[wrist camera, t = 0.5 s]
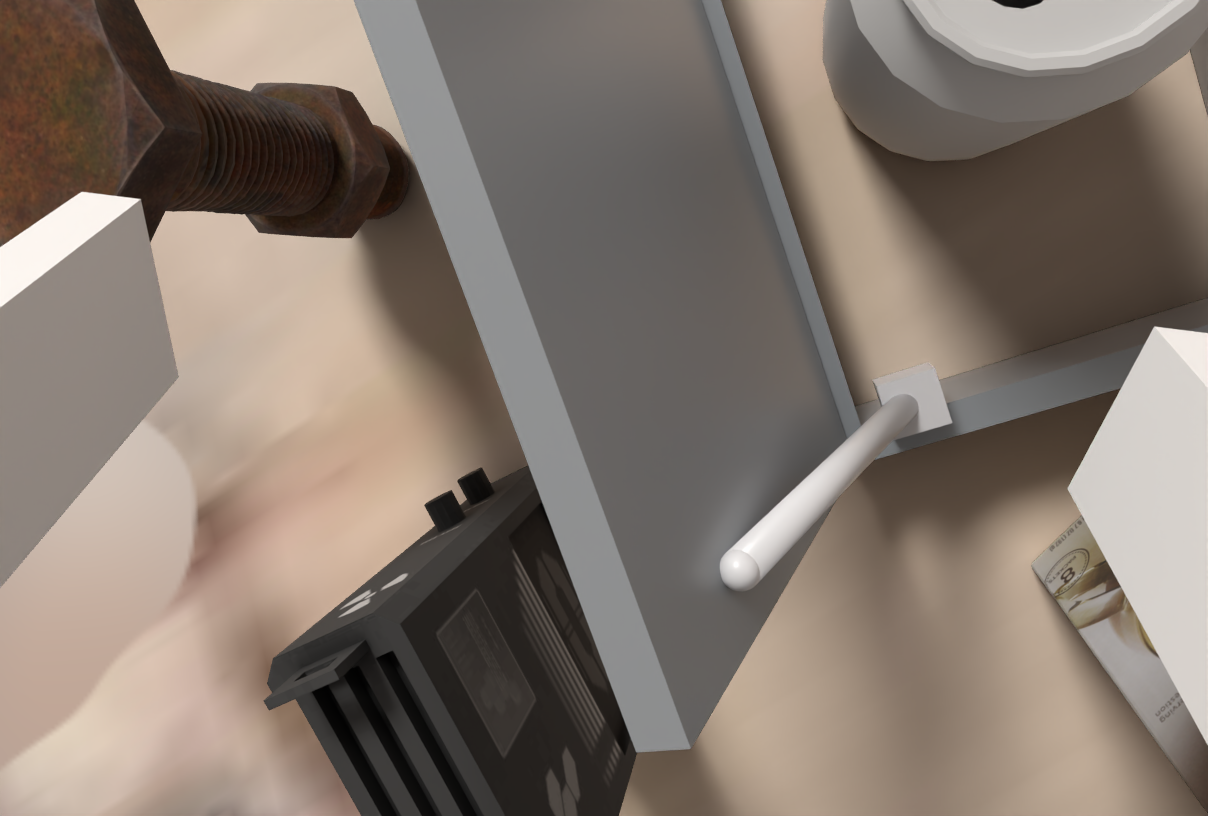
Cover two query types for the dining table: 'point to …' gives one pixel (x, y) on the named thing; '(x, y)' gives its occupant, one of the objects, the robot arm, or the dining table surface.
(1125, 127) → the dining table surface
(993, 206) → the dining table surface
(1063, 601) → the coffee box
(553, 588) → the geiger counter
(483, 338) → the case
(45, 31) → the bolt
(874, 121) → the can
